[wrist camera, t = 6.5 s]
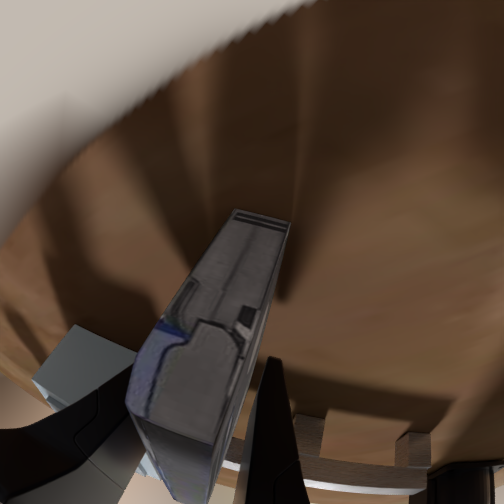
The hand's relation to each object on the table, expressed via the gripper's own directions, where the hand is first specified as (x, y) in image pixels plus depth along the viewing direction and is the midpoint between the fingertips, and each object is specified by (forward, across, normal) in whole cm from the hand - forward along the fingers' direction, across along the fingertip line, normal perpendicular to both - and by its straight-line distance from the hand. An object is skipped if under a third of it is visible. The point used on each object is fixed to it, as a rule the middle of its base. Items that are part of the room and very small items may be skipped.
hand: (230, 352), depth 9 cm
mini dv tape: (+2, 0, 0) cm, 2 cm away
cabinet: (+1, +6, +8) cm, 10 cm away
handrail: (+1, -4, +6) cm, 7 cm away
